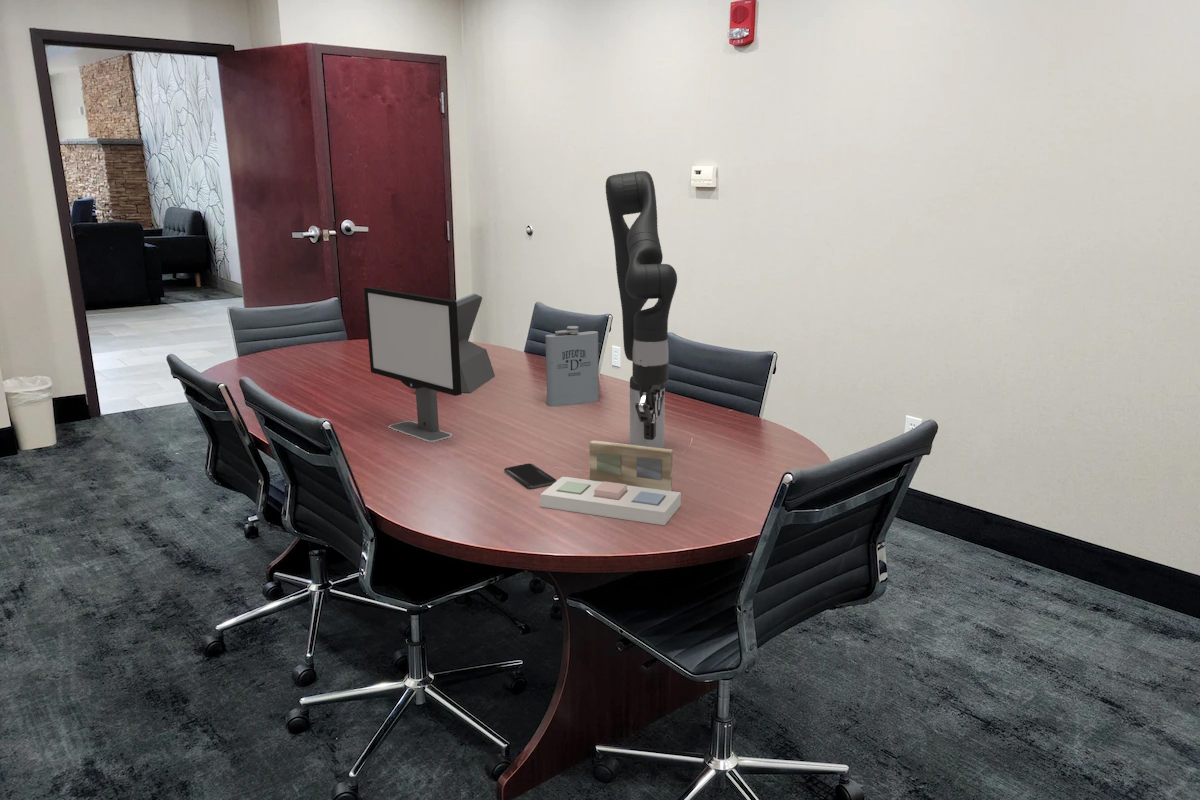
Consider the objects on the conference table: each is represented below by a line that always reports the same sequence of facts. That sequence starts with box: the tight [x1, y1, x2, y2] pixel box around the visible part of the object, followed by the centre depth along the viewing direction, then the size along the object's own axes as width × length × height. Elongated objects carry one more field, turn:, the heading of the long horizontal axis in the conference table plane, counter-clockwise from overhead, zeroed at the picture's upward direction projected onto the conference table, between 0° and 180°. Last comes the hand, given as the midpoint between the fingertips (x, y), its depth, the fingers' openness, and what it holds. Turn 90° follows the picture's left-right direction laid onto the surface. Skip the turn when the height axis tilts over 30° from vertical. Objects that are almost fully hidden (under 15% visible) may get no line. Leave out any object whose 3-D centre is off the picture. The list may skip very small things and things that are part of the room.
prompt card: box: [588, 440, 674, 491], centre depth 200 cm, size 2×20×10 cm, turn 68°
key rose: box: [594, 481, 627, 500], centre depth 189 cm, size 6×6×3 cm
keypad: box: [539, 476, 682, 526], centre depth 189 cm, size 12×29×3 cm, turn 68°
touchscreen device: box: [415, 293, 496, 394], centre depth 295 cm, size 35×20×30 cm, turn 167°
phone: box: [503, 463, 557, 490], centre depth 207 cm, size 8×1×15 cm
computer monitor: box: [363, 286, 462, 443], centre depth 238 cm, size 41×8×40 cm, turn 47°
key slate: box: [633, 491, 665, 506], centre depth 186 cm, size 6×6×3 cm
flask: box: [544, 325, 600, 407], centre depth 269 cm, size 17×5×25 cm, turn 112°
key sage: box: [557, 481, 590, 495], centre depth 192 cm, size 6×6×3 cm
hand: (649, 438), depth 182 cm, fingers closed
